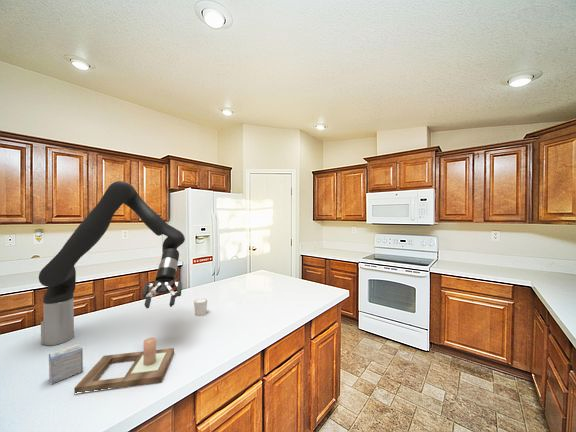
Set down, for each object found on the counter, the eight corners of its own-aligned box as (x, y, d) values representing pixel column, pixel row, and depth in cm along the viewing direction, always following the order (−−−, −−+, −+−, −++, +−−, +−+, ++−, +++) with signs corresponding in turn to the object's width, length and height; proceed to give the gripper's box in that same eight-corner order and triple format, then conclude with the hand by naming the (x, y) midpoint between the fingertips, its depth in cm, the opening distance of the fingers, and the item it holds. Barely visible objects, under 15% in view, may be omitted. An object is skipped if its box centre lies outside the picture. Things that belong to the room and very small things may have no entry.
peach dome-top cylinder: (141, 365, 81) (141, 343, 81) (146, 359, 84) (146, 338, 84) (153, 364, 81) (153, 342, 81) (157, 358, 85) (157, 337, 85)
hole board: (74, 394, 71) (74, 386, 71) (103, 361, 87) (103, 354, 87) (161, 382, 76) (161, 375, 76) (174, 353, 92) (174, 347, 92)
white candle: (193, 317, 123) (193, 303, 123) (194, 311, 129) (194, 298, 129) (206, 315, 125) (206, 302, 125) (207, 310, 131) (207, 297, 131)
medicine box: (80, 366, 84) (80, 342, 83) (83, 372, 81) (82, 347, 80) (48, 379, 77) (48, 353, 77) (50, 385, 75) (50, 358, 74)
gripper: (147, 266, 100) (136, 304, 89) (183, 265, 103) (176, 301, 92) (151, 275, 105) (141, 312, 94) (185, 274, 108) (180, 309, 97)
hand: (159, 306), depth 93 cm, fingers open, 8 cm apart
